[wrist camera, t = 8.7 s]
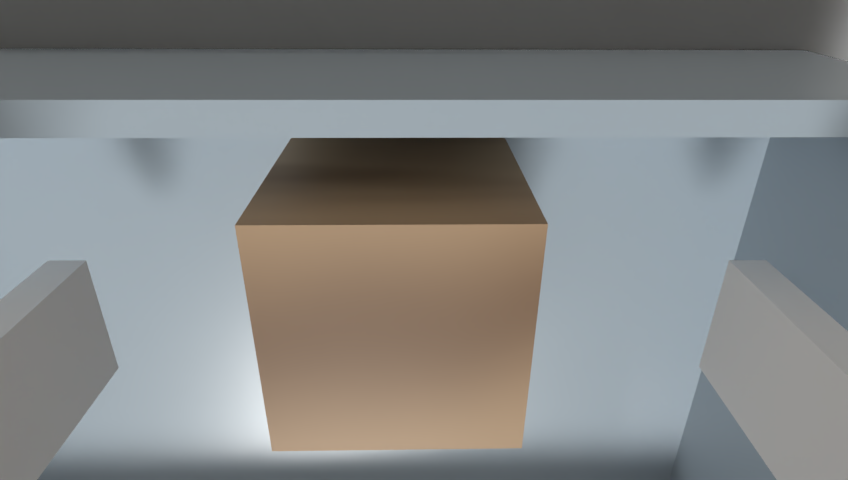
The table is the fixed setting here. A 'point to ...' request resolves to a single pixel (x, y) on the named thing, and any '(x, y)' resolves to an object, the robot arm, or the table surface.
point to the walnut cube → (393, 293)
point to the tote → (427, 118)
